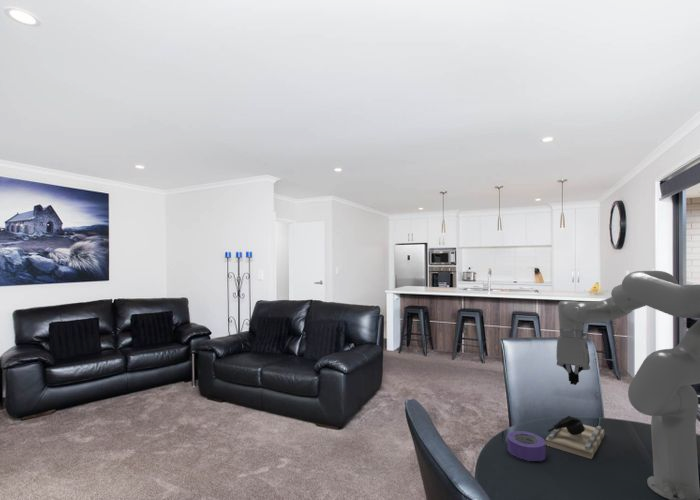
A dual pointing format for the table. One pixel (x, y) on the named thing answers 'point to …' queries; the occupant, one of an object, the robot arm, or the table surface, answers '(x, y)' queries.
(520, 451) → the tape roll
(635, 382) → the robot arm
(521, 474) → the table surface
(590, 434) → the board
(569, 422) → the black tapered curved piece
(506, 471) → the table surface
